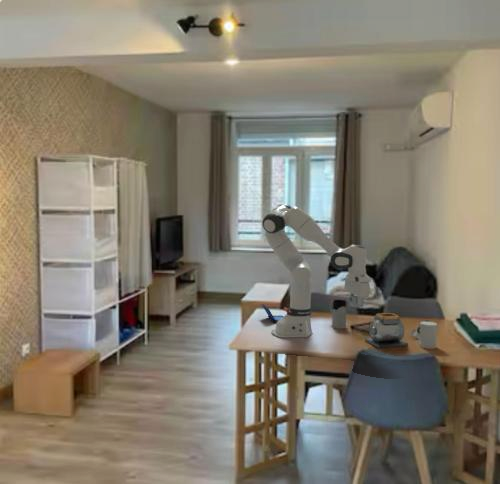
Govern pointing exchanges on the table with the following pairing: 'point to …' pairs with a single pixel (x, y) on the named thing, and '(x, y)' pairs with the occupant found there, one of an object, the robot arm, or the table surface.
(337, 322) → the glass holder
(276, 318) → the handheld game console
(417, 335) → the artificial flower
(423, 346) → the cup
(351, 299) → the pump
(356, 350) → the table surface
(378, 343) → the motor
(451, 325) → the table surface
